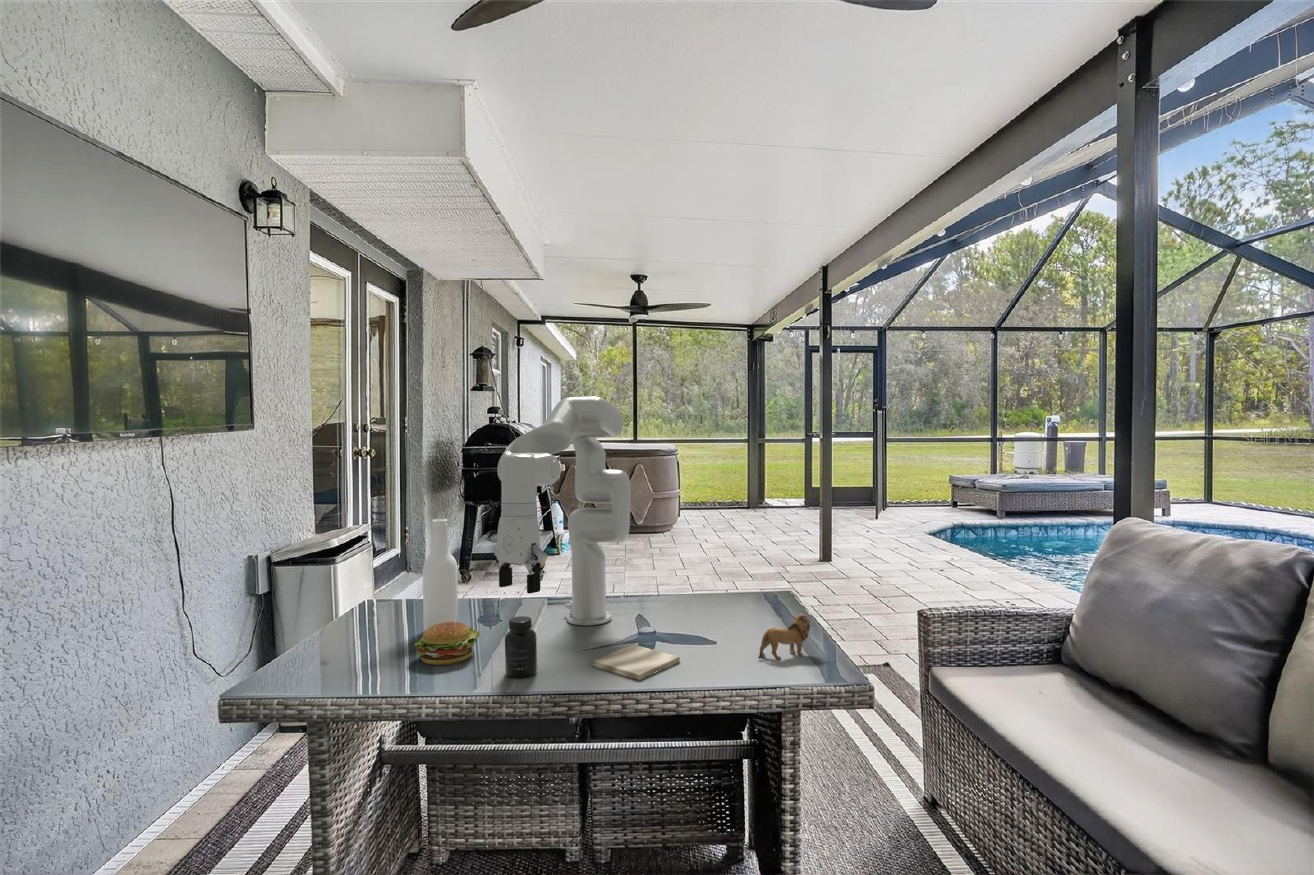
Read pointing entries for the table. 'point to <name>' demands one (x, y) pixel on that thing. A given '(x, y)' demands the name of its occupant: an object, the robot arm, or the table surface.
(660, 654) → the birch board
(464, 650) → the food
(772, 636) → the lion figurine
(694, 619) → the table surface
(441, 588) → the alcohol
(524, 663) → the supplement bottle
